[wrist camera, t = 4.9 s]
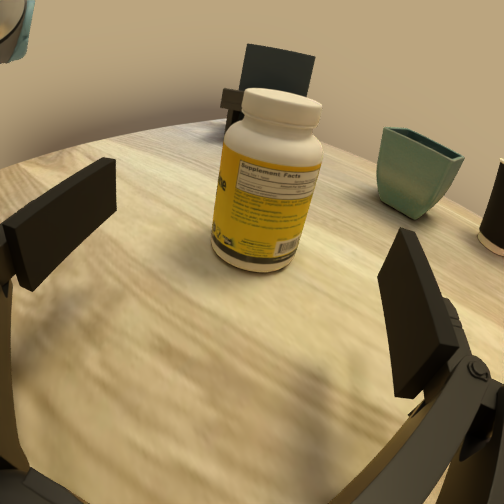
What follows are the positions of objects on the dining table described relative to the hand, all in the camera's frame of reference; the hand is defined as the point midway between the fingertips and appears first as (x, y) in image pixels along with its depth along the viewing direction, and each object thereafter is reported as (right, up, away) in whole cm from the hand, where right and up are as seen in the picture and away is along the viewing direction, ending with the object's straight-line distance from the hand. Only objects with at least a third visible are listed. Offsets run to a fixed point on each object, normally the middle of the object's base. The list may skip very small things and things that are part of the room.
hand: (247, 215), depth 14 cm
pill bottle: (0, -1, +10) cm, 10 cm away
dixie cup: (+32, -1, +20) cm, 38 cm away
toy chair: (+1, +16, +35) cm, 38 cm away
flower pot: (+19, +4, +23) cm, 30 cm away
